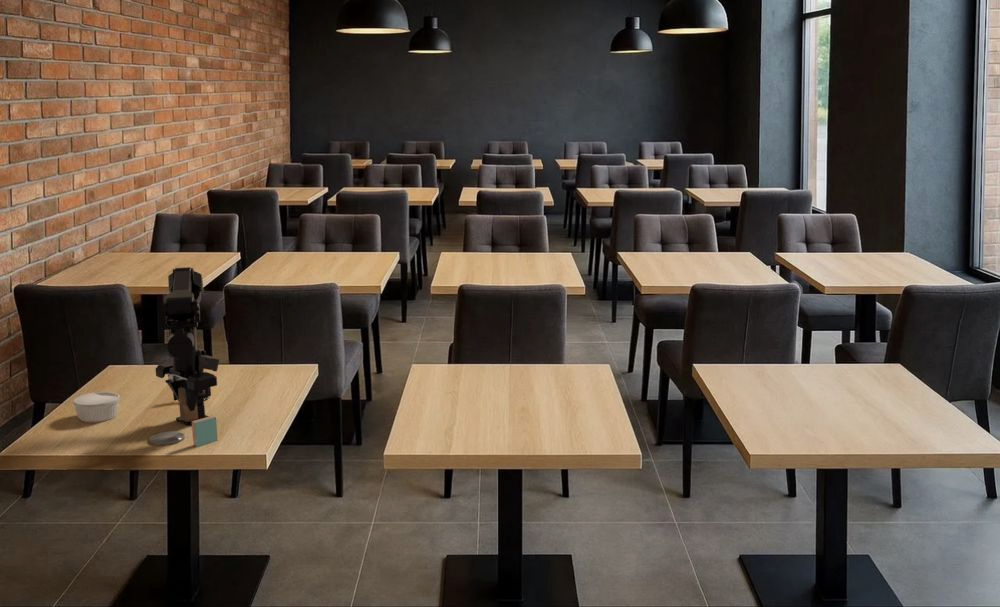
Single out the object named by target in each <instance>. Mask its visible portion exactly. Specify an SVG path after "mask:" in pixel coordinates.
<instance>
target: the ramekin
mask: <svg viewBox="0 0 1000 607" xmlns="http://www.w3.org/2000/svg"><path fill="white" fill-rule="evenodd" d="M120 400H121V396H120V395H119V394H118V393H116V392H109V391H98V392H97V391H96V392H89V393H85V394H81V395H79V396H76V397H75V398H74V399H73V400H72V402H73V406H74V407H75V412H76V415H77V417H78V419H79V420H80V421H82V422H83V421H84V423H101V422H102V423H103V422H106V421H109V420H112V419H114V418H116V417H117V415H118V414H119V406H120Z"/></svg>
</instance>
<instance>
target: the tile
mask: <svg viewBox="0 0 1000 607" xmlns="http://www.w3.org/2000/svg"><path fill="white" fill-rule="evenodd" d="M217 428H218V426H217V417H216V416H214V415H209V417H206V418H202V419H199V420H195V421H192V424H191V431H192V442H193V446H194V447H197V448H199V447H201V446H205V445H208V444H212V443H215V442H217V441H219V438H218V429H217Z"/></svg>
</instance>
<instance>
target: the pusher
mask: <svg viewBox="0 0 1000 607" xmlns="http://www.w3.org/2000/svg"><path fill="white" fill-rule="evenodd" d="M178 394H179V401H178V407H179V417H180V419H181V420H184V421H186V422H189V421H192V420H196V419H198V411H197V403H196V407H195V410H194V411H190V410H189V408H188V406H187V403H186V400H185V398H184V395H183V393H182V390H181V388H178Z"/></svg>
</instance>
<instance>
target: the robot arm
mask: <svg viewBox="0 0 1000 607" xmlns="http://www.w3.org/2000/svg"><path fill="white" fill-rule="evenodd" d="M167 277H168V278H167V279H168V291H169V293H168V294H166V298H165V301H163V303H162V309H163V310H162V312H163V314H162V316H163V330H169V338H168V341H167V345H166V347H167V351H168V352H167V355H168V357H171V360H172V361H169V362H163V363H160V364H158V365H157V366H156V368H155V376H156V378H157V377H158V378H160V379H163V378H165V376H166V375H167V379H165V381H164V382H165V383H166V384H167V385H168V387H169V389H170V391H172V395H173V401H178V402H179V394H178V388H181V390H182V393H183V395H184V398H185V400H186V403H187V406H188V408H189V410H190V411H194V410H195V407H196V403H197V411H198V419H196V420H199V419H202V418H206V417H209V416H210V415H209V416H208V415H206V410H205V409H206V407H205V400H204V398H208V397H209V396H210V397H211V396H212V391H211V388H212V387H216V386H218V378H217V376H216V375H215V374H213V373H210V372H207V371H204V370H209V371H213V372H216V373H217V372H218V368H219V365H220V360H221V359H220V358H217V357H215V356H212V355H211V356H210V355H208V354H207V353H206V351H205V350H203V349H198V345H197V343H198V342H197V341H198V340H197V327H199V326H198V324H199V323H201V311H200V310H201V308H200V305H201V304H200V302H201V301H202V293H204V281H203V280H204V279H203V275H202V273H199V272H197V271H194V268H193V267H189V266H187V267H185V266H184V267H175V268H173V269H172V273H170V274H168V276H167ZM203 390H205V391H203ZM175 420H176V421H178V422H180V423H183V424H185V425H188V426H190V425H191V426H192V421H195V420H192V421H189V422H186V421H184V420H181V419H180V416H179V417H176V418H175Z"/></svg>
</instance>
